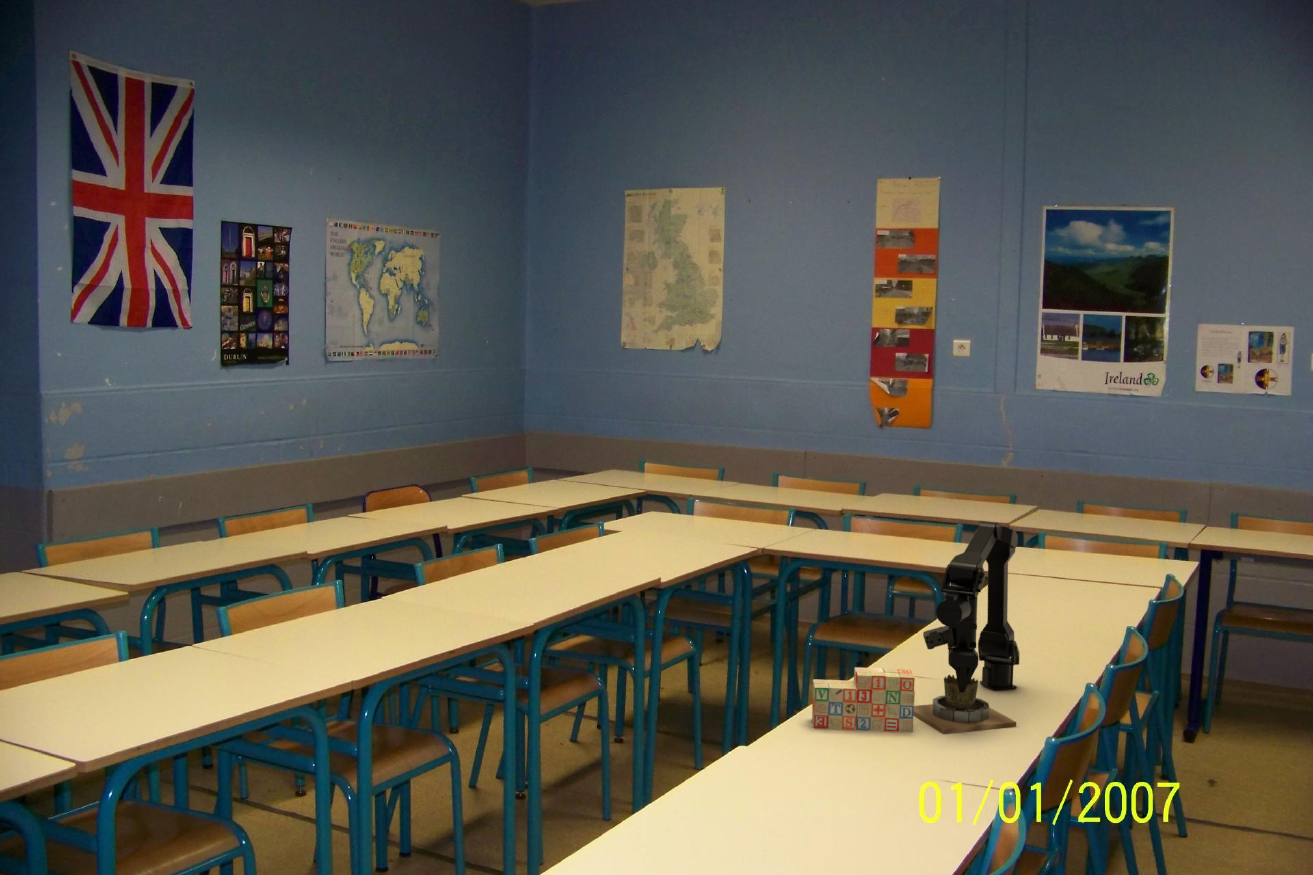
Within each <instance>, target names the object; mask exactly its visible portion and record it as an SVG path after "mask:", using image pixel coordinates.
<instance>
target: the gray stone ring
mask: <svg viewBox="0 0 1313 875" xmlns="http://www.w3.org/2000/svg"><path fill="white" fill-rule="evenodd" d="M932 704H933V715H935V716H936V717H938V718H940V719H943V720H947V721H951V722H958V723H978V722H983V721H985V720H987V719H989V707H990V706H989V705H990V704H989V702H988V701H985V700H984V699H981V698H979V697H976V699H975V702H974V704H973V706H972V707H970V708H969V709H973V710H969V711H966V710H954V709H950V708H947V707H951V706H950V705H949V704H948V703H947V701H946V697H945V694H943V695H939V696H936V697H934V698H933V699H932Z"/></svg>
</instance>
